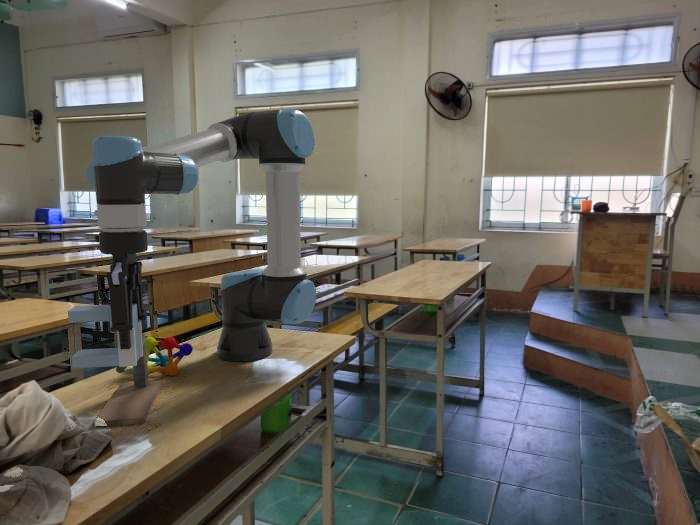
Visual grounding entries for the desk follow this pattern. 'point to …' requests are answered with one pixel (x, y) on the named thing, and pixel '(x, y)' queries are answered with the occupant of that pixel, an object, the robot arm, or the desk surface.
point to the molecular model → (165, 360)
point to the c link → (98, 356)
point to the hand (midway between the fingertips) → (131, 360)
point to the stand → (132, 396)
